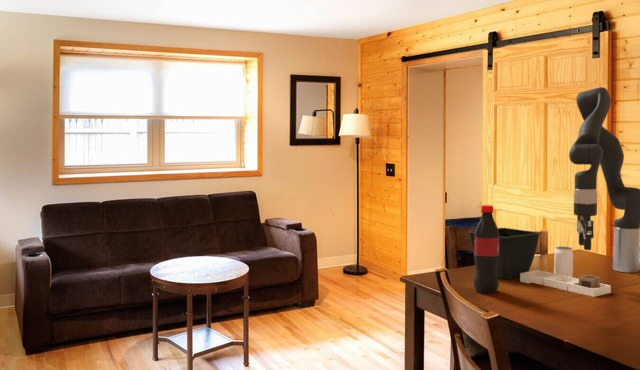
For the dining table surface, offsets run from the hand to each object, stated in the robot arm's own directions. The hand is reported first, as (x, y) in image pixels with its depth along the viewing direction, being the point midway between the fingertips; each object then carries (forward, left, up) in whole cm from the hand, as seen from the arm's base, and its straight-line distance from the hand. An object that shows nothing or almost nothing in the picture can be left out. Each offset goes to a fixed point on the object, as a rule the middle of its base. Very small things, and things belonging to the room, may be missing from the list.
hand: (584, 247), depth 216 cm
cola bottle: (+32, -16, -15) cm, 39 cm away
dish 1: (+6, -14, -14) cm, 21 cm away
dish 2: (+6, -4, -14) cm, 16 cm away
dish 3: (+6, +6, -14) cm, 17 cm away
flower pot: (+7, -30, -15) cm, 34 cm away
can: (-5, -12, -15) cm, 20 cm away
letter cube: (+6, +6, -14) cm, 16 cm away
